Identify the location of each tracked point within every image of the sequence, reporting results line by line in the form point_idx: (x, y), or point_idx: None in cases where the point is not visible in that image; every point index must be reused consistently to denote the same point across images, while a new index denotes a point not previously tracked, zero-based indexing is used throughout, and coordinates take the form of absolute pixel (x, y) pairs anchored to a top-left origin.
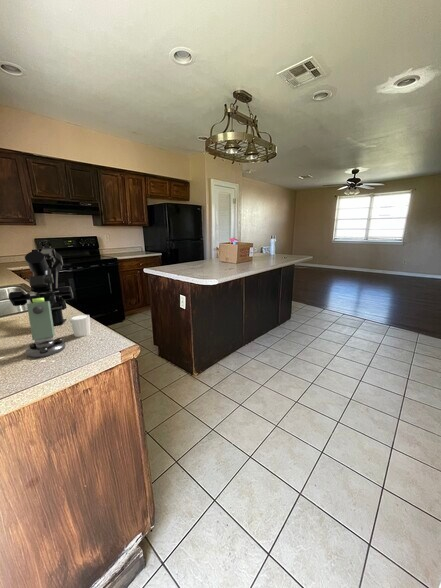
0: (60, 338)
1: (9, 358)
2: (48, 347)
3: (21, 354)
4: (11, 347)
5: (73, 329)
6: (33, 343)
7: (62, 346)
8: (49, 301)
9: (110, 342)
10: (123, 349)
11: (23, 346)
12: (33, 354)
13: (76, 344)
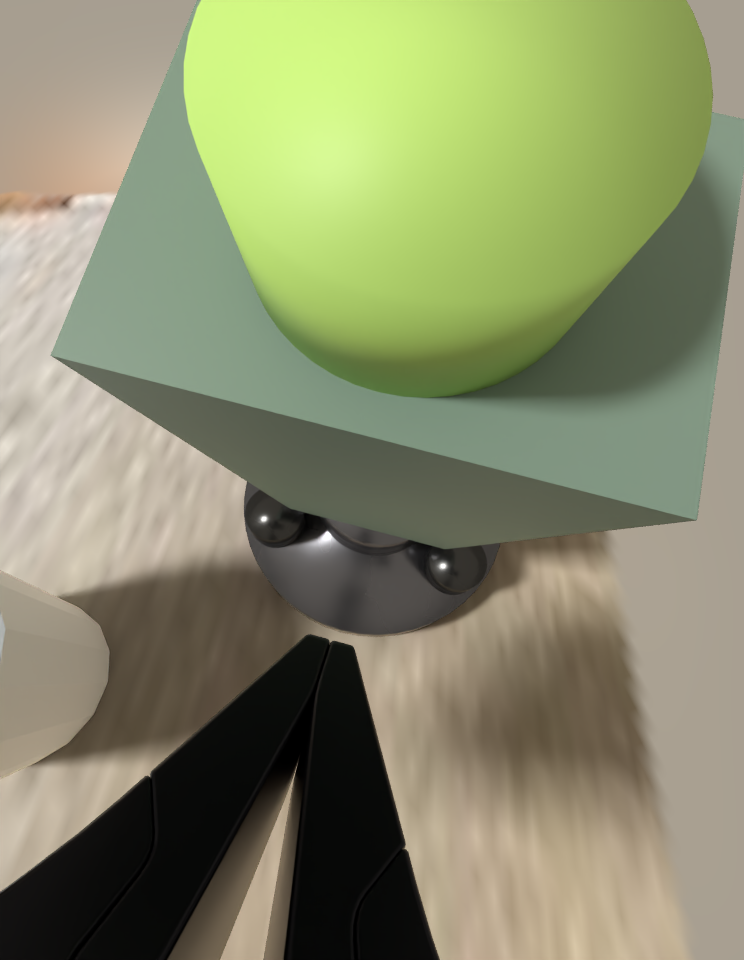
0: (256, 516)
1: (588, 545)
2: None
3: (523, 560)
4: (617, 812)
5: (75, 650)
6: (456, 565)
7: None
8: (77, 298)
9: (14, 331)
10: (38, 210)
11: (523, 748)
12: None
13: (184, 460)
